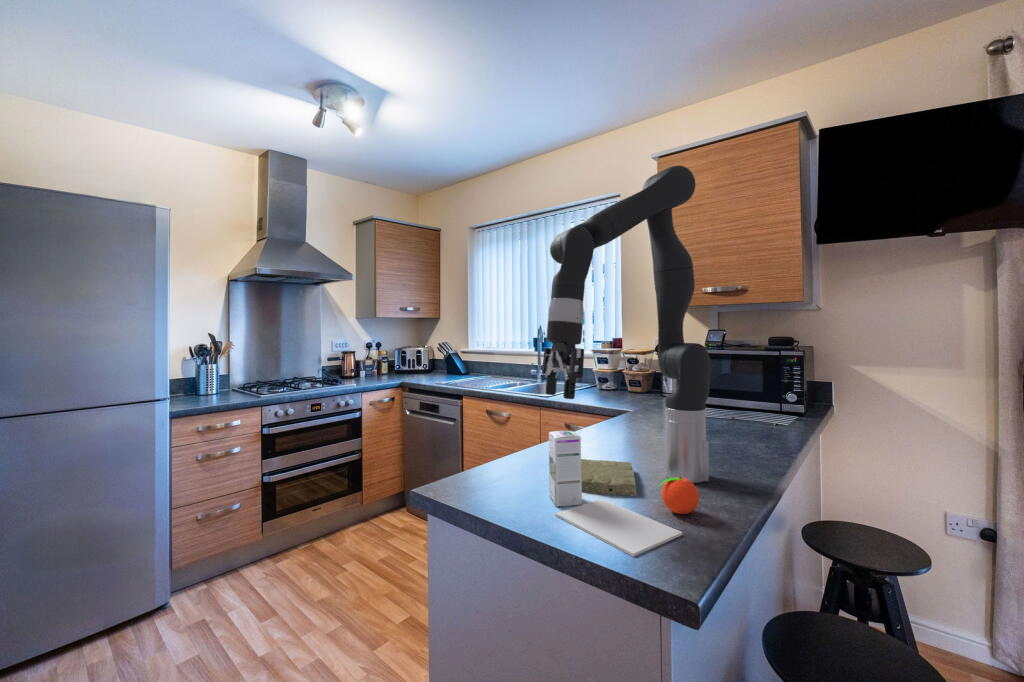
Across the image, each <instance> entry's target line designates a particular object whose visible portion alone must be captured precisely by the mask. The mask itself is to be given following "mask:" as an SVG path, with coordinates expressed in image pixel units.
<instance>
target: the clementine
mask: <svg viewBox="0 0 1024 682" xmlns="http://www.w3.org/2000/svg"><path fill="white" fill-rule="evenodd" d="M662 485H663V486H662ZM661 486H662V488H661V499H662V501H663V504H664V505H665V506H666V508H668V509H669V511H672V512H673V513H676V514H679V515H688V514H690V513H692V512H694V511H695V510H696V508H697V507H698V505H699V502H700V495H699V491H698V488H697V486H695V483H692V482H691V481H689V480H688V479H686V478H682V477H674V478H668V477H667V478H666V479H664V480H663V481H661V483H660V484H659V485H658V488H657V490H659V488H660V487H661Z"/></svg>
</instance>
